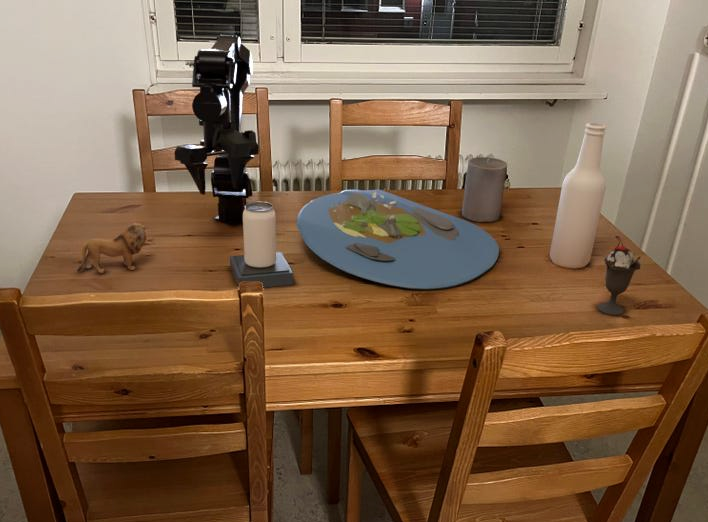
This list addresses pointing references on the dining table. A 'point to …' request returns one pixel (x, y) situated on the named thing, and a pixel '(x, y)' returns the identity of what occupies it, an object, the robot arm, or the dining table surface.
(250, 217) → the can
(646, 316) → the dining table surface
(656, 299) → the dining table surface
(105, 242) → the lion figurine
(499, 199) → the pillar candle
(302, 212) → the serving platter
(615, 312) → the sundae
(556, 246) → the alcohol
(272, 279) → the riser
